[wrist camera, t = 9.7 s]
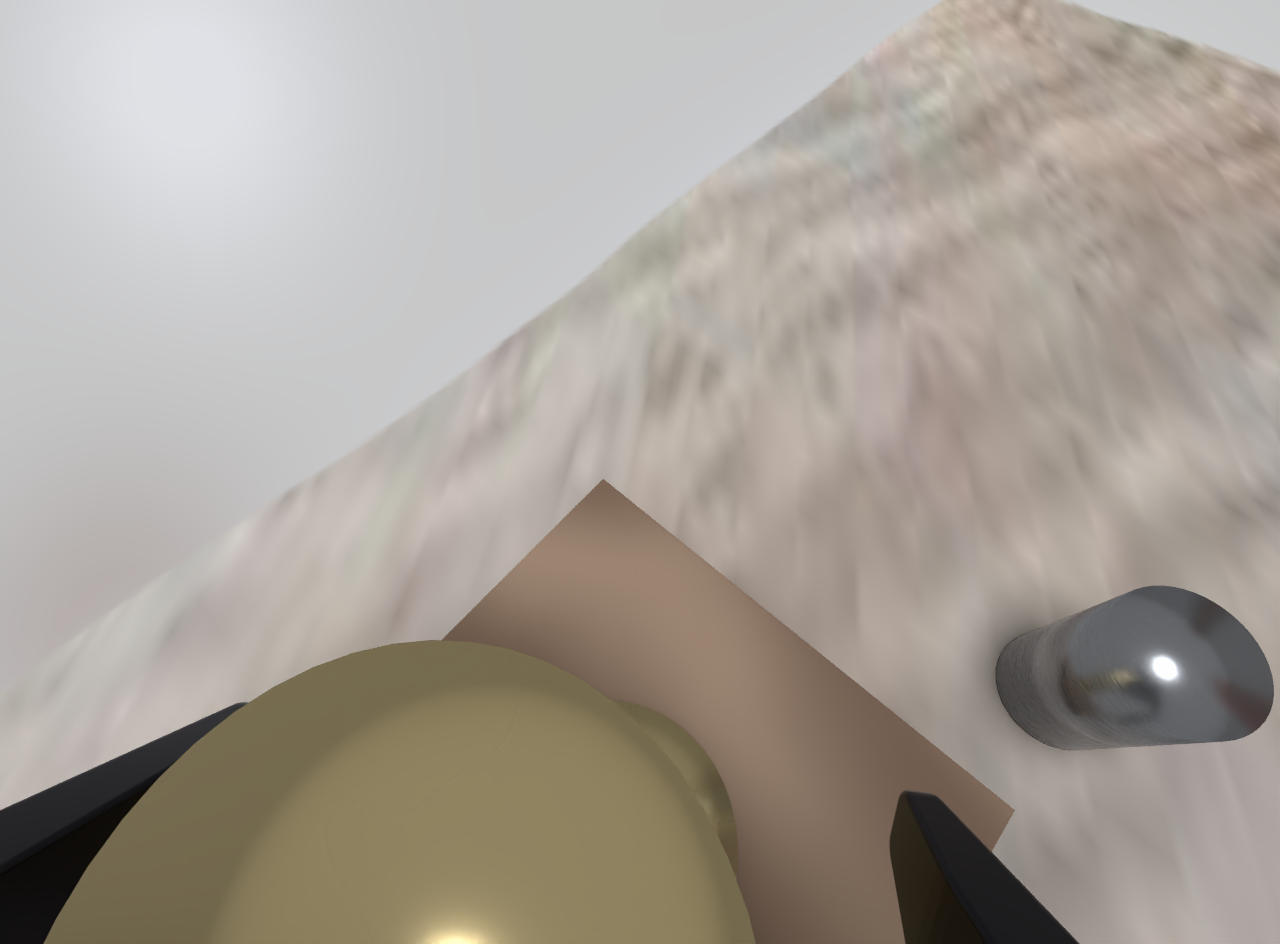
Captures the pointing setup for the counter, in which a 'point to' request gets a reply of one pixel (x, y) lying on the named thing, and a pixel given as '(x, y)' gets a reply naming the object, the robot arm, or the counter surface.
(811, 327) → the counter surface
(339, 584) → the counter surface
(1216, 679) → the steel spacers
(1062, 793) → the counter surface
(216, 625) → the counter surface
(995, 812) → the walnut board
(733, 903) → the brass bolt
